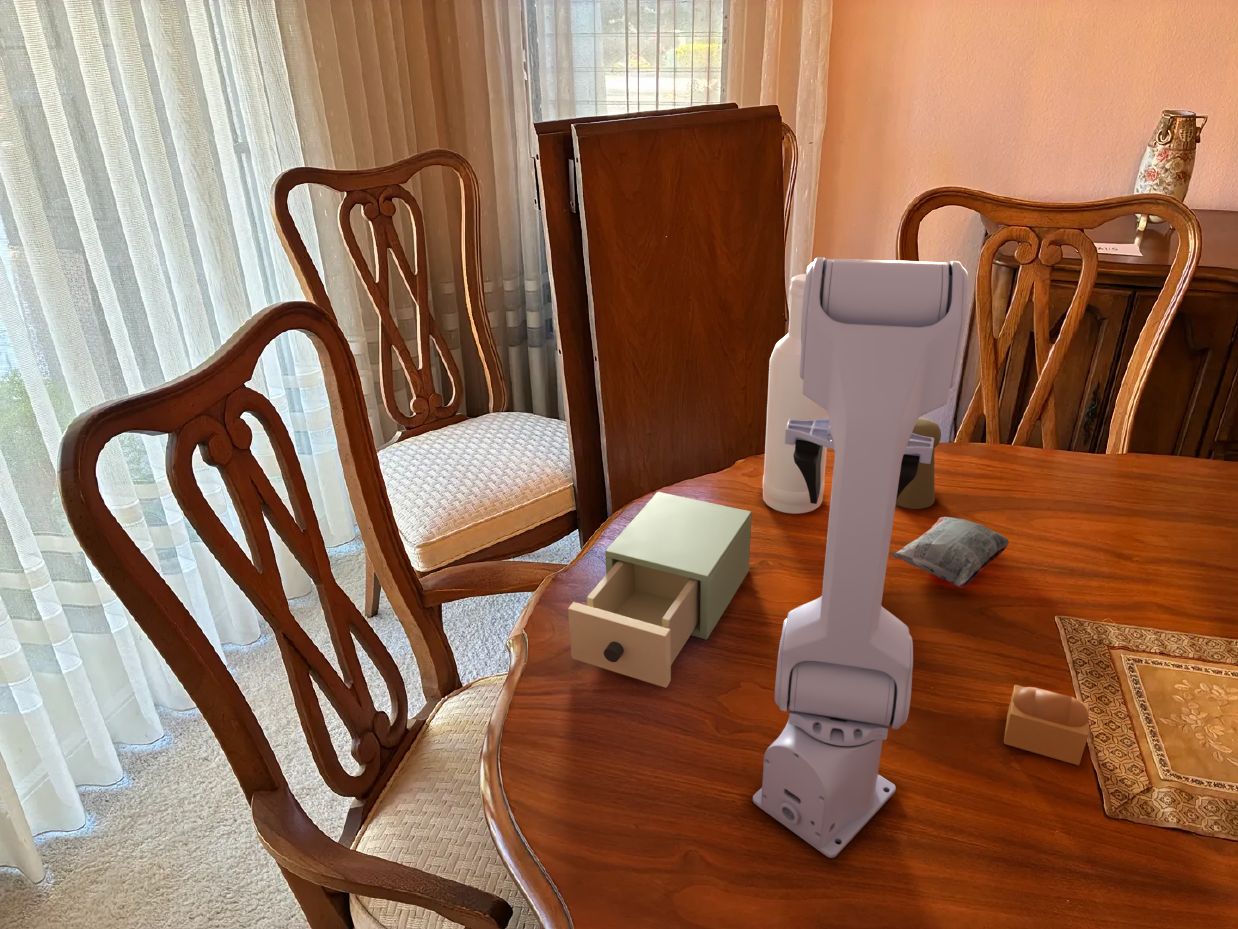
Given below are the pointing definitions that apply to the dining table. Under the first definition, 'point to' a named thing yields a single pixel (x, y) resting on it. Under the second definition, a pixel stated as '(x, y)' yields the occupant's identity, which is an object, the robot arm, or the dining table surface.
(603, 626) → the wooden pull-out drawer
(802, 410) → the bottle
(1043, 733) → the light brown block
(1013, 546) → the dining table surface
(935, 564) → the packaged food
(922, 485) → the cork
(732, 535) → the drawer cabinet
